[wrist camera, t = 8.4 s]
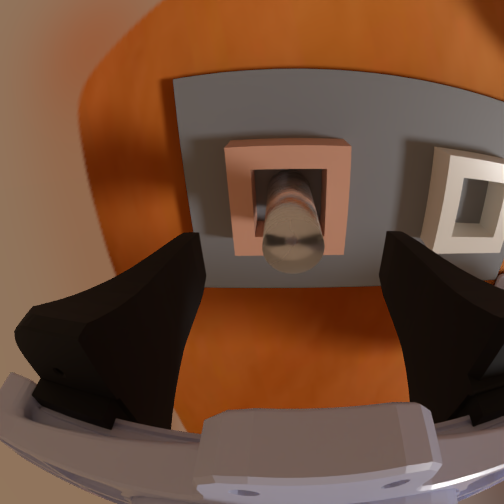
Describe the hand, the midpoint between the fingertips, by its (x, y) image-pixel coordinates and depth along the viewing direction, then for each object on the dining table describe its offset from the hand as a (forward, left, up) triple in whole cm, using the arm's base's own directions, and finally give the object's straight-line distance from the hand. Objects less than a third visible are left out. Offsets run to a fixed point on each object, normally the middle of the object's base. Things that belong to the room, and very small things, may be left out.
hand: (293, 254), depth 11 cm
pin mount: (-12, 0, -7) cm, 14 cm away
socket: (0, 0, -7) cm, 7 cm away
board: (-6, 0, -8) cm, 10 cm away
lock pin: (0, 0, -7) cm, 7 cm away
